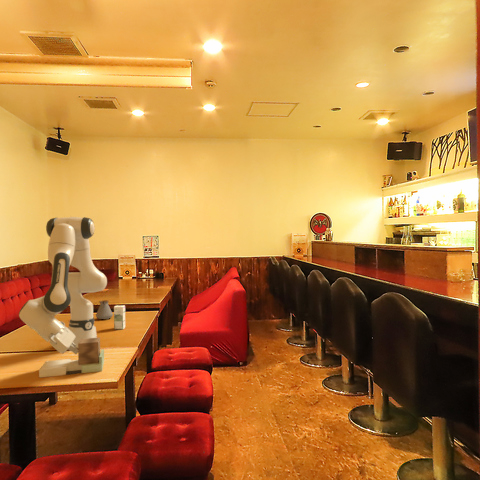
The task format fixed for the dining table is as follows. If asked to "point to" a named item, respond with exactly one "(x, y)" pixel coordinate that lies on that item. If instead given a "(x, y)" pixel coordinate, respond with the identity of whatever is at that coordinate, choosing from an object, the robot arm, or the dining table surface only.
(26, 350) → the dining table surface
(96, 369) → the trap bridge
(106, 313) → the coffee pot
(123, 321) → the syrup box
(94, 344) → the walnut block
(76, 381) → the dining table surface
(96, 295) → the dining table surface
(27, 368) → the dining table surface
